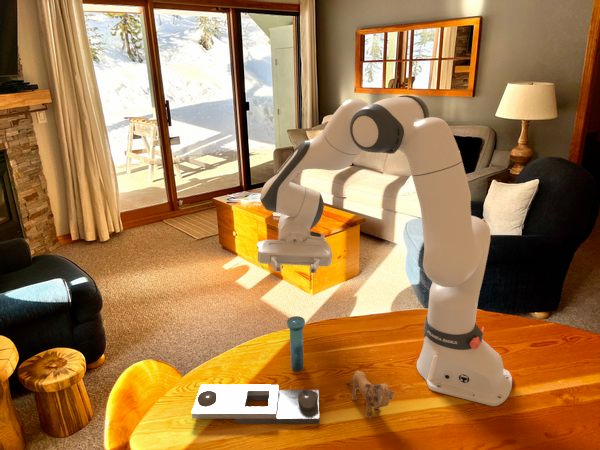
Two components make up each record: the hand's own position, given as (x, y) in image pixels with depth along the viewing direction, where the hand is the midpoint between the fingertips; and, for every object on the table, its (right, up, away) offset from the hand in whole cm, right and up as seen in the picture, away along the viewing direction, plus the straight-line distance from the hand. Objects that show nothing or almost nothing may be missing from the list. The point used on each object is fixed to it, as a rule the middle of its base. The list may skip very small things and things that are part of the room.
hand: (295, 270), depth 120 cm
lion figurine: (+17, -30, -13) cm, 37 cm away
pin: (0, -25, -1) cm, 25 cm away
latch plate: (-9, -31, -14) cm, 35 cm away
